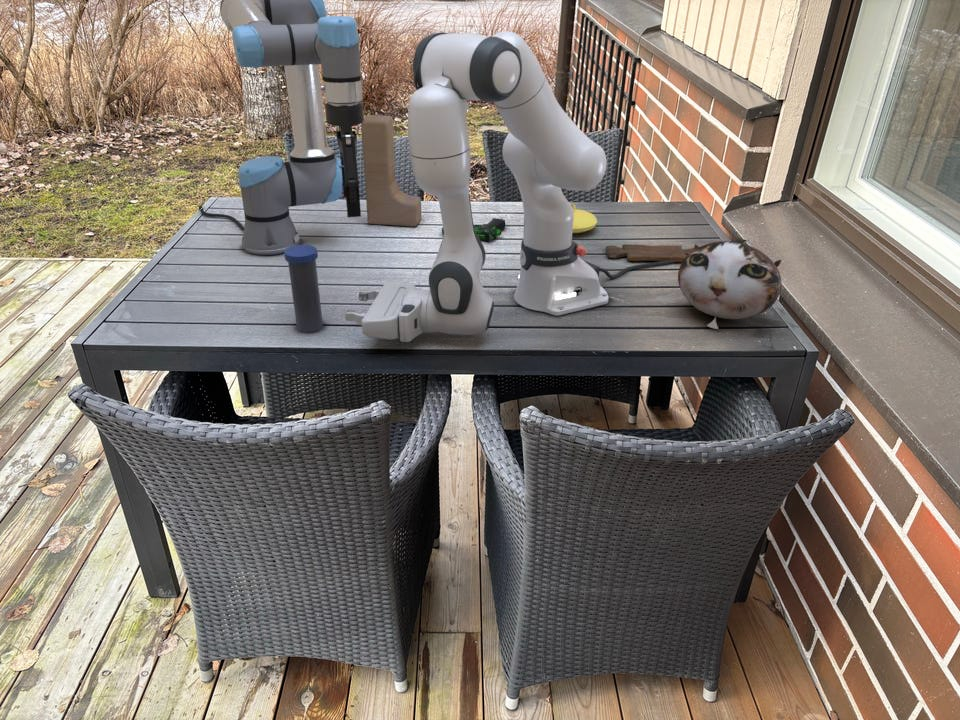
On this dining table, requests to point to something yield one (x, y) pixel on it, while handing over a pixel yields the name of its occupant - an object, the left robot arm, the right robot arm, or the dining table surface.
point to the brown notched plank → (648, 252)
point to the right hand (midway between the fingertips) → (353, 305)
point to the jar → (306, 296)
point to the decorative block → (385, 177)
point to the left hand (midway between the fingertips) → (352, 206)
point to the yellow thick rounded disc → (583, 220)
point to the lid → (301, 254)
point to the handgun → (489, 229)
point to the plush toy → (729, 280)
